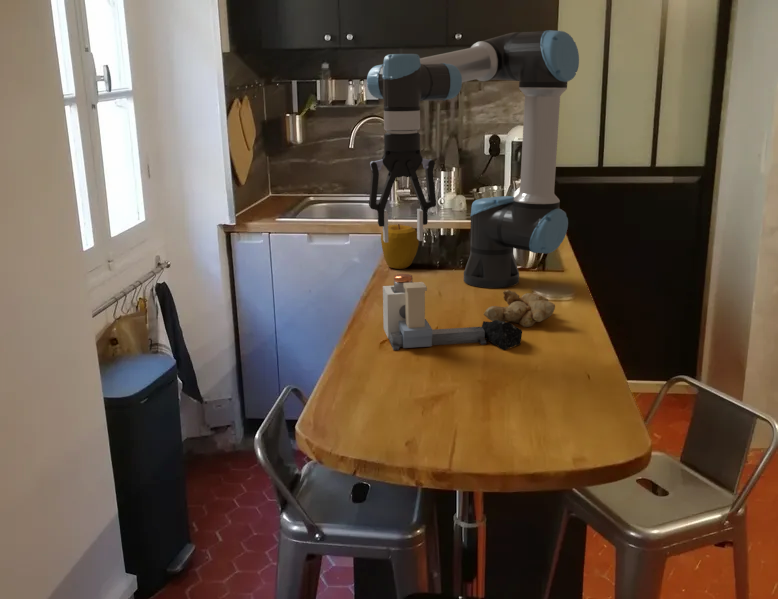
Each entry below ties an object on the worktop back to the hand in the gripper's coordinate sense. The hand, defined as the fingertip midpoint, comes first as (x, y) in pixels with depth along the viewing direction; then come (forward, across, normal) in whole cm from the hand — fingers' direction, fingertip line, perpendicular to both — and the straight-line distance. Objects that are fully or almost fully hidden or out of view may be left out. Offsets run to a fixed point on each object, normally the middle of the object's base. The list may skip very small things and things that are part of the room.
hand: (402, 240), depth 170 cm
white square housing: (+21, 0, 0) cm, 21 cm away
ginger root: (+21, -29, -4) cm, 36 cm away
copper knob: (+14, 0, 0) cm, 14 cm away
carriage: (+21, -1, +8) cm, 23 cm away
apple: (+21, -9, -60) cm, 64 cm away
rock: (+21, -19, +10) cm, 30 cm away
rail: (+21, -6, +8) cm, 23 cm away
